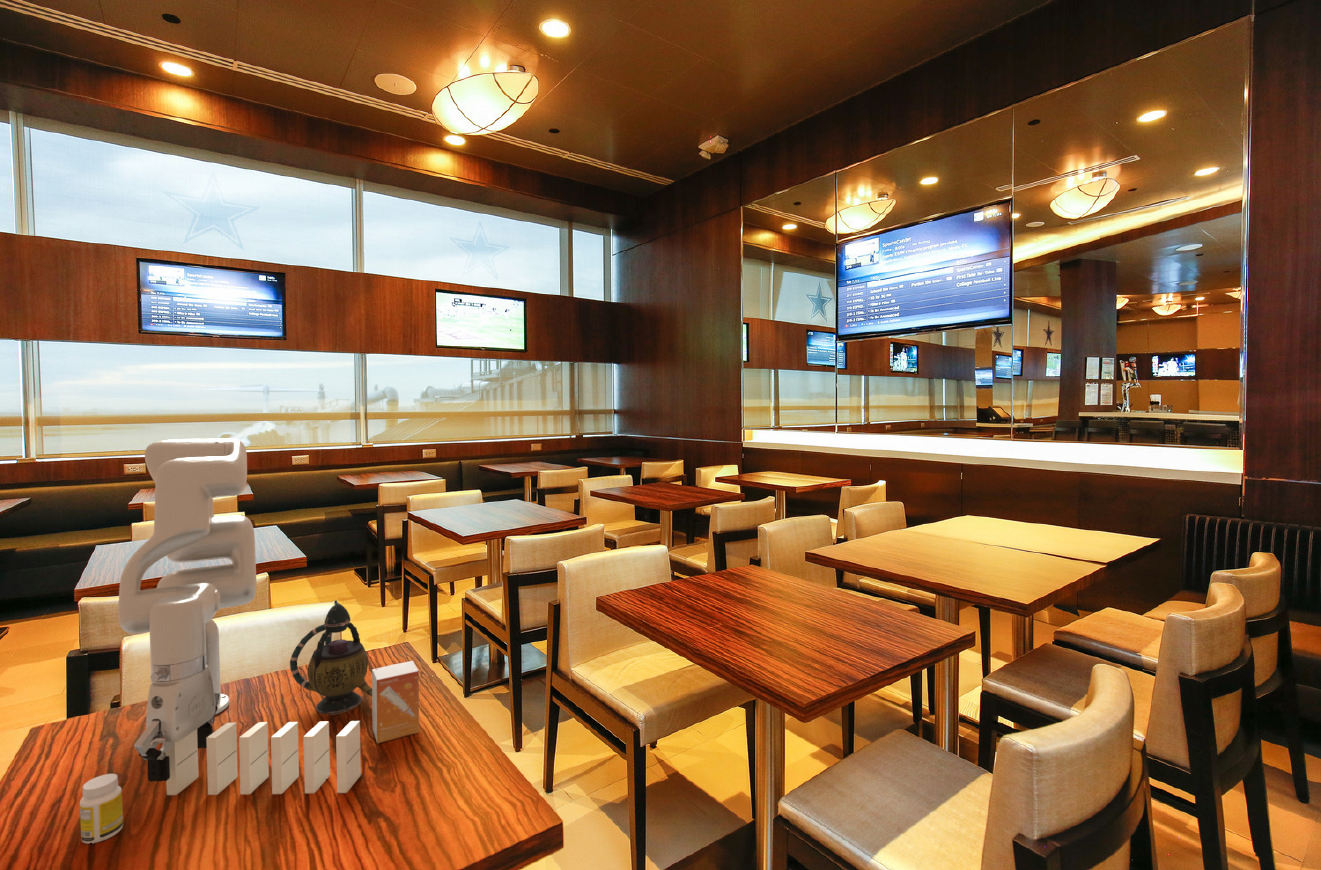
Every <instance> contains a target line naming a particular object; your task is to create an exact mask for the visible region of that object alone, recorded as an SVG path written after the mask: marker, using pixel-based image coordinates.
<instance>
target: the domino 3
mask: <svg viewBox="0 0 1321 870" xmlns="http://www.w3.org/2000/svg"><path fill="white" fill-rule="evenodd" d="M268 732H269V727H268V721H265V722H264V721H261V722H256V724H254V725H253V726H252V727H251V728H250V729H248V730H247V731H245V732H244V733H243V734H241V735H240V736H238V737H239V738H238V740H239V742H238V743H239V745H238V746H239V780H240V781H239V782H240V783H239V787H240V795H251V794H252V793H253V792H254V791H255V790H257V789H258V788H259V786H260V785H262V784H263V783H264V782H265V781H266V780H267V779H268V778H269V777H270V775H269V768H270V767H269V733H268Z"/></svg>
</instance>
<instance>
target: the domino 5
mask: <svg viewBox="0 0 1321 870" xmlns="http://www.w3.org/2000/svg"><path fill="white" fill-rule="evenodd" d="M330 757H331V756H330V722H329V721H326V720H325V721H318V722H317V723H316V725H314V727H312V728H311V729H310V730H309V731H308V732H306V733H305V735H304V736H303V760H304V763H303V764H304V765H303V766H304V768H303V769H304V794H316V792H317V791H318V790H319V789H320V787H322V786H323V784H324V783H325V782H326V781H327V780H328V779H329V778H330V776H331V764H330V761H331V758H330ZM326 779H327V780H326Z"/></svg>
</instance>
